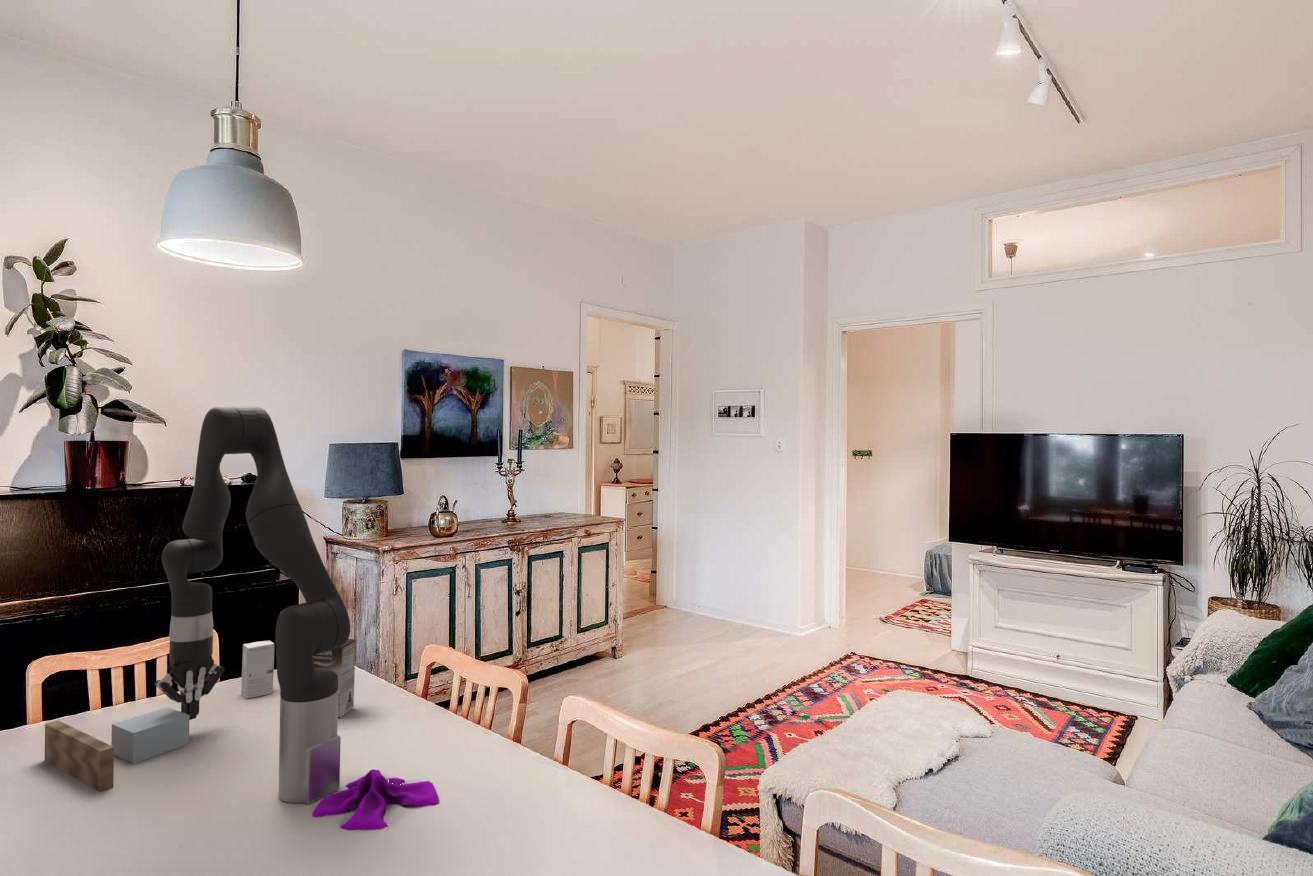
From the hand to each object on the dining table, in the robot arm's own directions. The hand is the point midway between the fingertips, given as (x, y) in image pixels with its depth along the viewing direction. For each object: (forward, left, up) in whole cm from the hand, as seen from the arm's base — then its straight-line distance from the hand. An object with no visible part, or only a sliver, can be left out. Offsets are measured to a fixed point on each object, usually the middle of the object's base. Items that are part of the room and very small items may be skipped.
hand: (190, 718), depth 146 cm
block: (0, +7, -4) cm, 8 cm away
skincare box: (+11, -21, -4) cm, 24 cm away
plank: (0, +19, -4) cm, 20 cm away
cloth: (-53, -3, -4) cm, 53 cm away
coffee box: (-13, -23, -4) cm, 26 cm away
